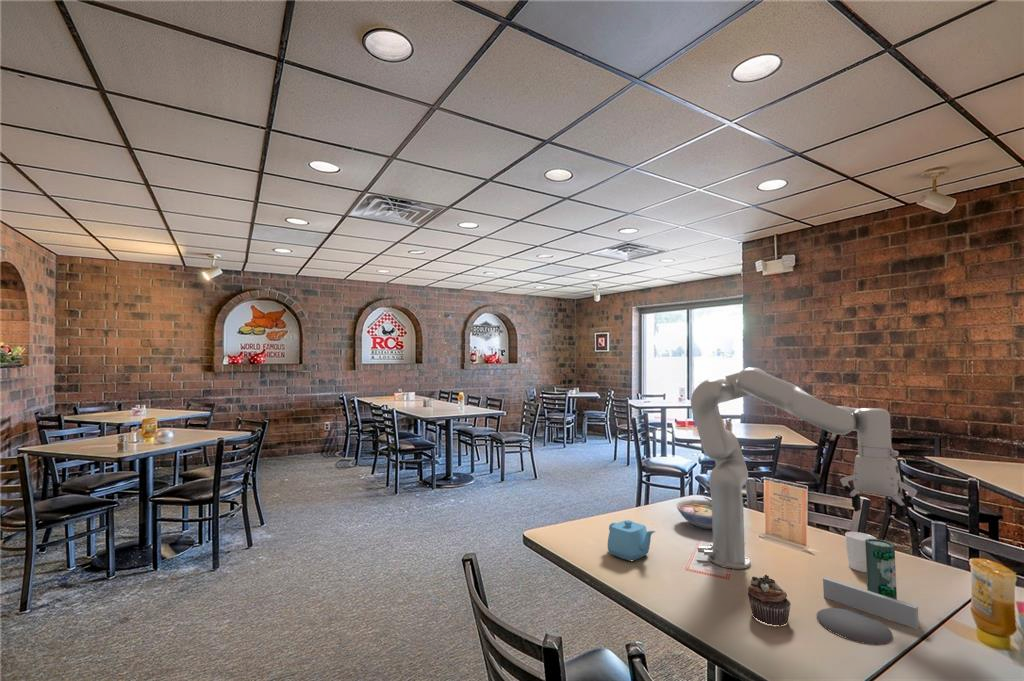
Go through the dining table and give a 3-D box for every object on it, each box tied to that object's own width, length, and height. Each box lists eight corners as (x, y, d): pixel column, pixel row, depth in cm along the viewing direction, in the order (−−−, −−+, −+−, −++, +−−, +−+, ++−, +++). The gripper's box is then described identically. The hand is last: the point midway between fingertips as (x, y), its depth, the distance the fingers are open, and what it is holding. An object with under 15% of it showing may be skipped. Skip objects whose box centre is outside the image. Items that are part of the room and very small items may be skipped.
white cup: (883, 574, 143) (881, 541, 144) (854, 572, 145) (852, 539, 145) (868, 564, 151) (867, 532, 151) (841, 562, 152) (840, 530, 153)
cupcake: (773, 633, 112) (772, 590, 113) (739, 613, 121) (738, 574, 122) (800, 624, 116) (799, 582, 117) (765, 605, 125) (764, 567, 126)
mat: (837, 641, 109) (836, 639, 109) (805, 608, 124) (805, 606, 124) (908, 646, 107) (908, 644, 107) (867, 612, 122) (867, 610, 122)
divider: (917, 629, 114) (916, 608, 114) (823, 597, 129) (823, 578, 130) (918, 627, 115) (917, 606, 115) (826, 595, 130) (825, 577, 131)
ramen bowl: (665, 517, 198) (665, 497, 198) (716, 515, 200) (716, 495, 201) (694, 539, 173) (694, 516, 173) (752, 536, 175) (752, 514, 176)
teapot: (645, 570, 147) (644, 533, 147) (599, 553, 160) (598, 519, 161) (666, 559, 155) (665, 524, 155) (620, 544, 168) (620, 511, 169)
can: (889, 605, 125) (886, 548, 126) (863, 595, 130) (861, 541, 131) (900, 600, 128) (898, 544, 128) (875, 591, 133) (872, 537, 134)
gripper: (918, 455, 127) (922, 519, 126) (843, 447, 140) (846, 505, 139) (910, 458, 122) (914, 525, 121) (834, 450, 136) (837, 509, 135)
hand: (878, 514), depth 130 cm, fingers open, 9 cm apart
